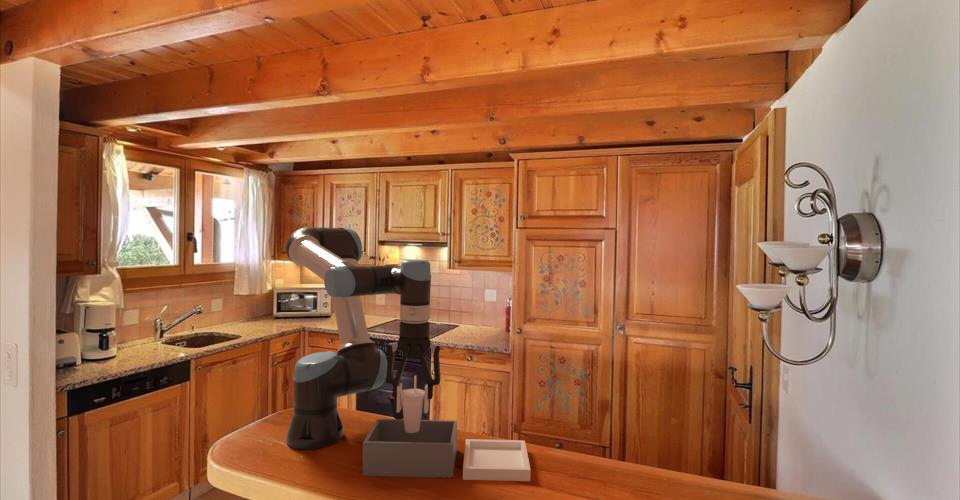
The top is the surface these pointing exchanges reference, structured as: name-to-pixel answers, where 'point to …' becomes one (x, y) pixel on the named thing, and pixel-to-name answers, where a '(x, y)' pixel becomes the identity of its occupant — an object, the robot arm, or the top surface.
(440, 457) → the deep bin
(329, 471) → the top surface
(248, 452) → the top surface
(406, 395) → the smoothie
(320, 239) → the robot arm
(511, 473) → the tray
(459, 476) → the top surface
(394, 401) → the sundae
